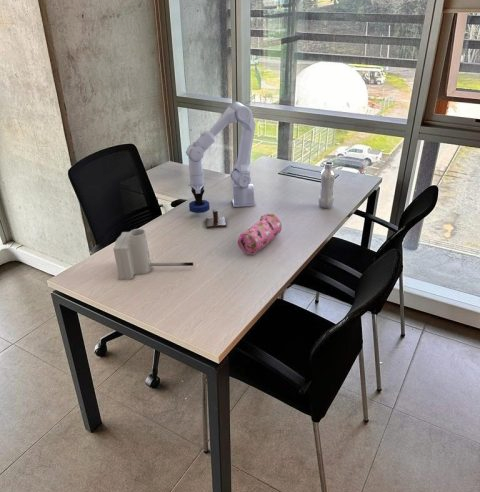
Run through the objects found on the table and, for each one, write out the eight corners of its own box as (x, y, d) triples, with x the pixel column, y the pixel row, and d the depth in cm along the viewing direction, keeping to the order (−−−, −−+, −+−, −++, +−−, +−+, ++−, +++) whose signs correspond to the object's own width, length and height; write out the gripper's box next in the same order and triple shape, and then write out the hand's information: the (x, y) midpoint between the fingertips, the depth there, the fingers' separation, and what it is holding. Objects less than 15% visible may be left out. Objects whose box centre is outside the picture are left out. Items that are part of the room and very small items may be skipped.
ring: (209, 204, 204) (208, 199, 203) (210, 212, 196) (209, 207, 195) (189, 205, 203) (188, 200, 202) (189, 213, 196) (189, 208, 194)
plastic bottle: (316, 208, 202) (319, 164, 192) (320, 202, 208) (323, 160, 197) (331, 210, 200) (334, 166, 190) (334, 204, 205) (338, 161, 195)
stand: (224, 218, 196) (223, 206, 193) (226, 227, 190) (225, 213, 186) (206, 220, 196) (205, 207, 193) (207, 228, 189) (205, 215, 186)
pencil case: (262, 230, 186) (262, 210, 181) (282, 234, 182) (283, 214, 177) (236, 253, 170) (235, 232, 166) (257, 259, 166) (257, 237, 162)
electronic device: (126, 261, 168) (119, 224, 160) (195, 260, 167) (192, 223, 159) (117, 279, 158) (109, 241, 150) (191, 278, 157) (187, 240, 149)
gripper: (186, 168, 200) (189, 197, 208) (187, 180, 188) (190, 210, 195) (202, 167, 201) (205, 196, 208) (204, 178, 189) (206, 208, 196)
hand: (199, 202), depth 202 cm, fingers closed on ring, 2 cm apart
